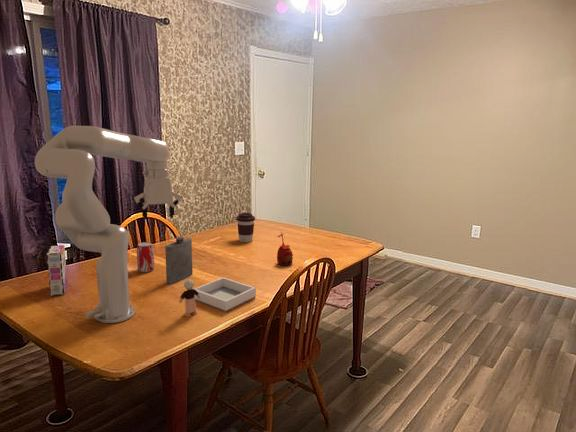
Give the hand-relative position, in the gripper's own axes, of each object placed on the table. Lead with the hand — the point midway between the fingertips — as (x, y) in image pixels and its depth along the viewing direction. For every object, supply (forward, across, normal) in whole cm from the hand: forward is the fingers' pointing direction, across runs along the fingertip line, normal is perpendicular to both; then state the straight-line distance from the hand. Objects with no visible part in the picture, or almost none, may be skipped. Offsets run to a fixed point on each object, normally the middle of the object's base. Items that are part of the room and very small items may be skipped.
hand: (158, 217), depth 167 cm
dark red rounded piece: (+27, +57, +3) cm, 63 cm away
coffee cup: (+26, +55, +44) cm, 75 cm away
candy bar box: (+28, -36, +11) cm, 47 cm away
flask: (+28, +9, +4) cm, 29 cm away
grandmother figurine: (+28, +4, -30) cm, 41 cm away
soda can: (+27, -2, +20) cm, 34 cm away
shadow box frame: (+28, +19, -23) cm, 40 cm away
